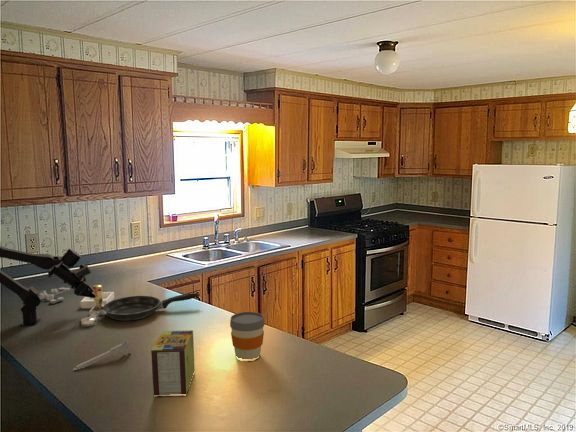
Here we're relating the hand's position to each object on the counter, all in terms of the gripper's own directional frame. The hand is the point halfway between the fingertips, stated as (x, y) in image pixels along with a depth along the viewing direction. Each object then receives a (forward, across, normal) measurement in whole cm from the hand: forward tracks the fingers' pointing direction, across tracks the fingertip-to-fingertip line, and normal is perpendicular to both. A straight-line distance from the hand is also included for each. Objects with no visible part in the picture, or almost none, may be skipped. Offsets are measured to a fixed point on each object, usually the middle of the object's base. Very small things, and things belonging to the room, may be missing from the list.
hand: (94, 294), depth 216 cm
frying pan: (+22, -10, -9) cm, 26 cm away
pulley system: (-6, +38, +19) cm, 43 cm away
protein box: (+18, -84, -4) cm, 86 cm away
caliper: (+5, -55, +9) cm, 56 cm away
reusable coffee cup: (+38, -77, -25) cm, 89 cm away
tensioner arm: (+6, -7, +7) cm, 11 cm away
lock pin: (+8, 0, +5) cm, 9 cm away
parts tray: (+8, +15, +4) cm, 18 cm away
